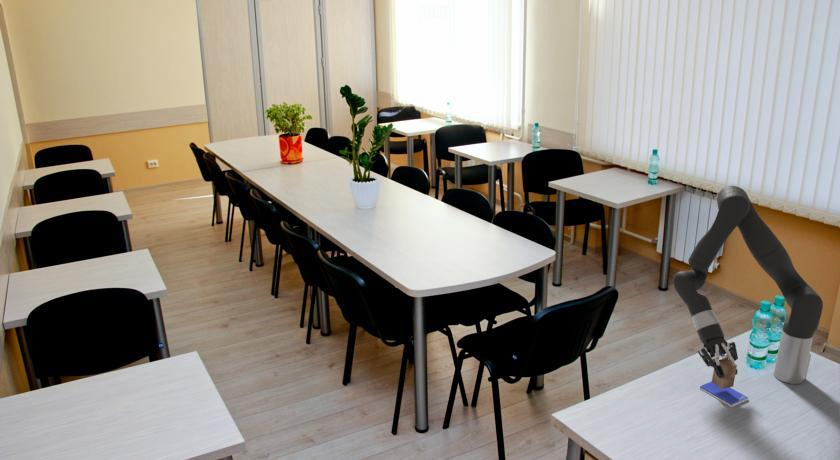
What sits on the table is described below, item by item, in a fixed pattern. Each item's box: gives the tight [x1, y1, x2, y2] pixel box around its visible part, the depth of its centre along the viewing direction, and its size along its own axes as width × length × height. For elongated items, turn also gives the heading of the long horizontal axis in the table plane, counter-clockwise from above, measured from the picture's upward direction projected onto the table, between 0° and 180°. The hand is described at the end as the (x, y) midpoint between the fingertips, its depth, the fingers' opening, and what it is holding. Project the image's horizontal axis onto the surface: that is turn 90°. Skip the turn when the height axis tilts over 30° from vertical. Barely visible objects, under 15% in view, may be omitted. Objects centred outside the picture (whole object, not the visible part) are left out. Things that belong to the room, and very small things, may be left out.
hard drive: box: [699, 380, 749, 408], centre depth 227 cm, size 2×8×12 cm
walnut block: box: [711, 357, 738, 389], centre depth 225 cm, size 5×5×8 cm
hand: (728, 376), depth 223 cm, fingers closed on walnut block, 4 cm apart
